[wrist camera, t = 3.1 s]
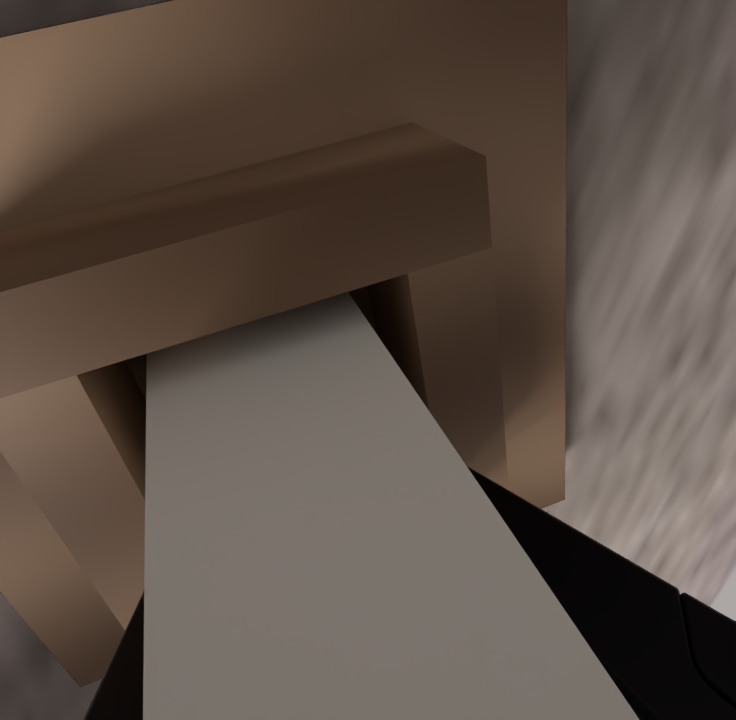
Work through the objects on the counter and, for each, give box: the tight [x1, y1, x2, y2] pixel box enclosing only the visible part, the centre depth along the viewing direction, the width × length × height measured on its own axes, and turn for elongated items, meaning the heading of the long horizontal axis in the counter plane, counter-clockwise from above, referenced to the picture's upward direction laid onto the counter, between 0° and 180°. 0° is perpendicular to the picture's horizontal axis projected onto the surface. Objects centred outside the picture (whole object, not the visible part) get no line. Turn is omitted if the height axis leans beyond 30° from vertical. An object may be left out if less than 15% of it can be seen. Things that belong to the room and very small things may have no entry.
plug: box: [143, 292, 639, 720], centre depth 7 cm, size 4×3×10 cm
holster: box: [0, 0, 567, 687], centre depth 10 cm, size 12×12×4 cm
